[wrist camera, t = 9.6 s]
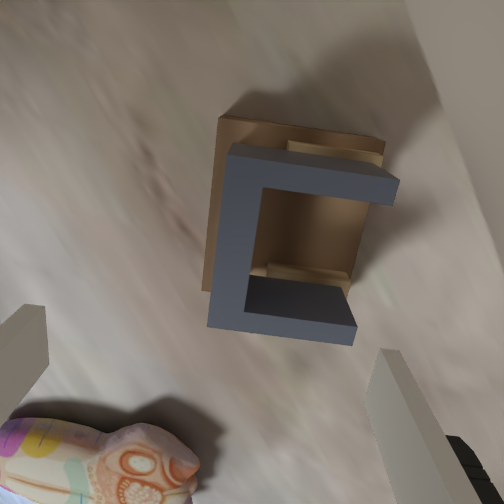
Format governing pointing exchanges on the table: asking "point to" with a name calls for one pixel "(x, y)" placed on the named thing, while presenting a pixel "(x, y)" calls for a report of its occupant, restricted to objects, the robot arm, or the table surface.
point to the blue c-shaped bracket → (243, 237)
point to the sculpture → (95, 463)
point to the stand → (295, 207)
